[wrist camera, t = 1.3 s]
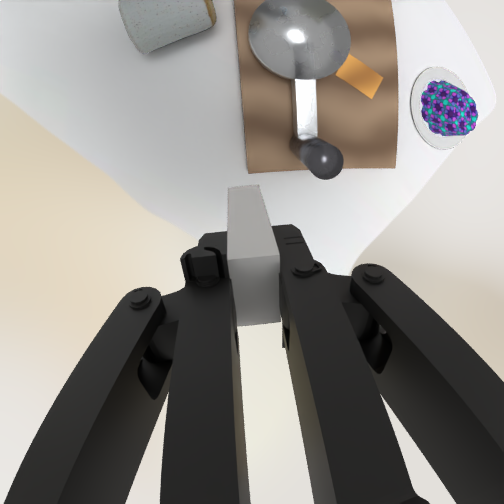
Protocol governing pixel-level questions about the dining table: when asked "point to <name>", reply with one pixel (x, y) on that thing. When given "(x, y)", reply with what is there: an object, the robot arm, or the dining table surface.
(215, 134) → the dining table surface
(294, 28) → the steel serving spoon
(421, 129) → the pudding
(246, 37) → the wooden cutting board
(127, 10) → the ceramic mug
